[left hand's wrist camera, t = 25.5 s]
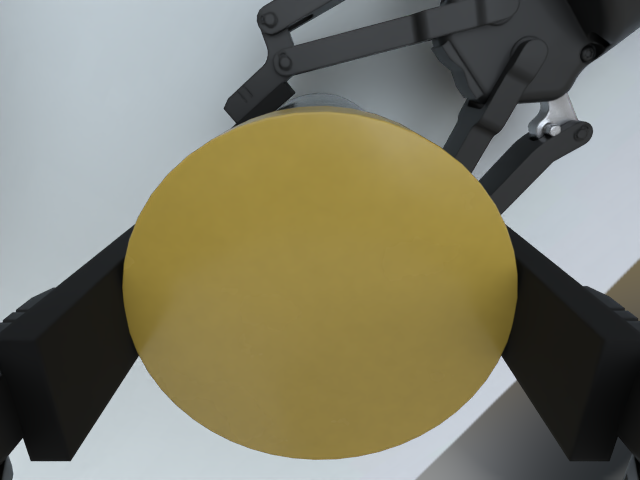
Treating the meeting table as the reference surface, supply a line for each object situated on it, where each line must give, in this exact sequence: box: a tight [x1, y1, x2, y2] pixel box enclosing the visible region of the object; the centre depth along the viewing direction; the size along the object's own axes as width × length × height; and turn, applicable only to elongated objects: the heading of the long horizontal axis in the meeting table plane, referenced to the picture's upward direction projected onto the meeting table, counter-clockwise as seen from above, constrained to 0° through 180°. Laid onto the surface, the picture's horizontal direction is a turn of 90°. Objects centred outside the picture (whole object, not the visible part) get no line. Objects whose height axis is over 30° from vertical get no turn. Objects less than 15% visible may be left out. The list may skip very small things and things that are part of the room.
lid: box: [122, 106, 518, 460], centre depth 11 cm, size 10×10×2 cm
